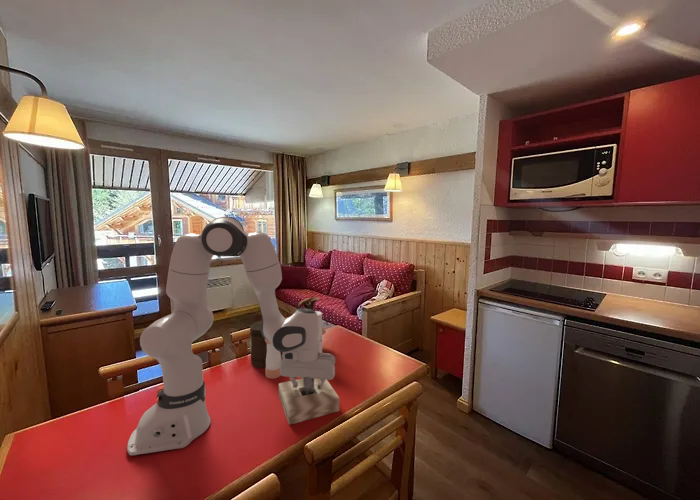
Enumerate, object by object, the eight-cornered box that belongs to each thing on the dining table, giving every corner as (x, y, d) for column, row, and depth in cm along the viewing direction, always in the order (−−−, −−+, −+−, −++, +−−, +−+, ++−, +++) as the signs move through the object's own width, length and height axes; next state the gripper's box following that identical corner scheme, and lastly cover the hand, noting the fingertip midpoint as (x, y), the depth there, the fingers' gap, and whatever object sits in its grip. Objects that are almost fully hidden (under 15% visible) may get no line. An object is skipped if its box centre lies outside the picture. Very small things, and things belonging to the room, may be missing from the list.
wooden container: (264, 352, 153) (263, 310, 150) (288, 357, 147) (287, 314, 145) (244, 365, 139) (242, 319, 137) (269, 371, 133) (268, 324, 131)
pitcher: (310, 361, 141) (310, 304, 139) (284, 353, 150) (283, 299, 148) (332, 348, 156) (332, 296, 154) (307, 341, 165) (306, 292, 163)
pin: (305, 404, 107) (305, 378, 106) (302, 399, 111) (301, 373, 110) (316, 401, 109) (315, 375, 108) (312, 396, 112) (312, 371, 112)
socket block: (289, 424, 98) (288, 410, 98) (278, 395, 115) (278, 383, 114) (339, 410, 105) (339, 397, 105) (323, 385, 122) (322, 373, 121)
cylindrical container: (325, 364, 140) (325, 312, 138) (315, 370, 134) (315, 316, 132) (313, 360, 144) (313, 310, 142) (303, 366, 138) (303, 314, 136)
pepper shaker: (285, 374, 131) (284, 332, 129) (271, 380, 125) (270, 337, 123) (275, 368, 136) (274, 328, 134) (262, 375, 130) (260, 332, 128)
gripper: (336, 350, 110) (336, 385, 111) (283, 346, 113) (284, 381, 114) (333, 357, 104) (333, 395, 105) (277, 354, 106) (278, 390, 108)
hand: (307, 387), depth 109 cm, fingers open, 8 cm apart
